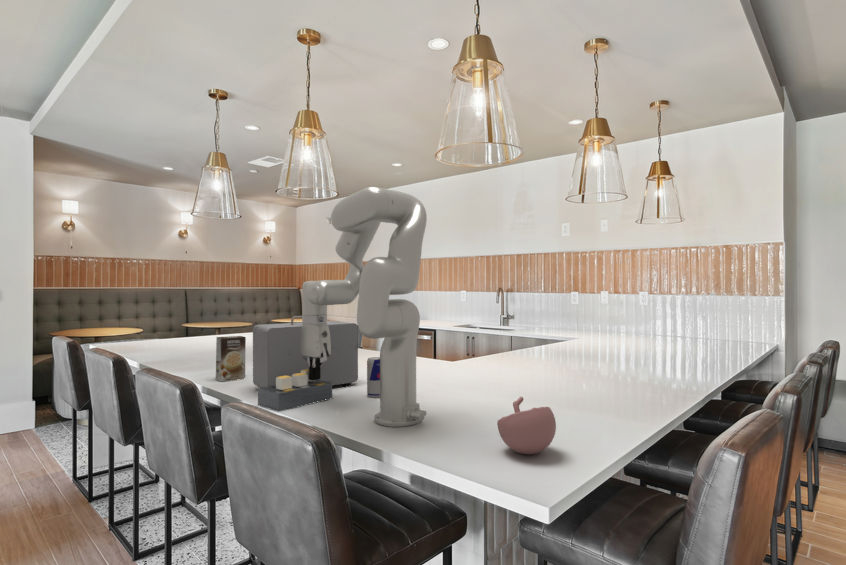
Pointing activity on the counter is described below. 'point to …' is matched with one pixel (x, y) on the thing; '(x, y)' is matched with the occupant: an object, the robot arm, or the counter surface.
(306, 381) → the switch
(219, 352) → the coffee box
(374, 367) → the energy drink
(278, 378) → the switch
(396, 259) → the robot arm
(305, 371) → the switch
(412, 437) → the counter surface
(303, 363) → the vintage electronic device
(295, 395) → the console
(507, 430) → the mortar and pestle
